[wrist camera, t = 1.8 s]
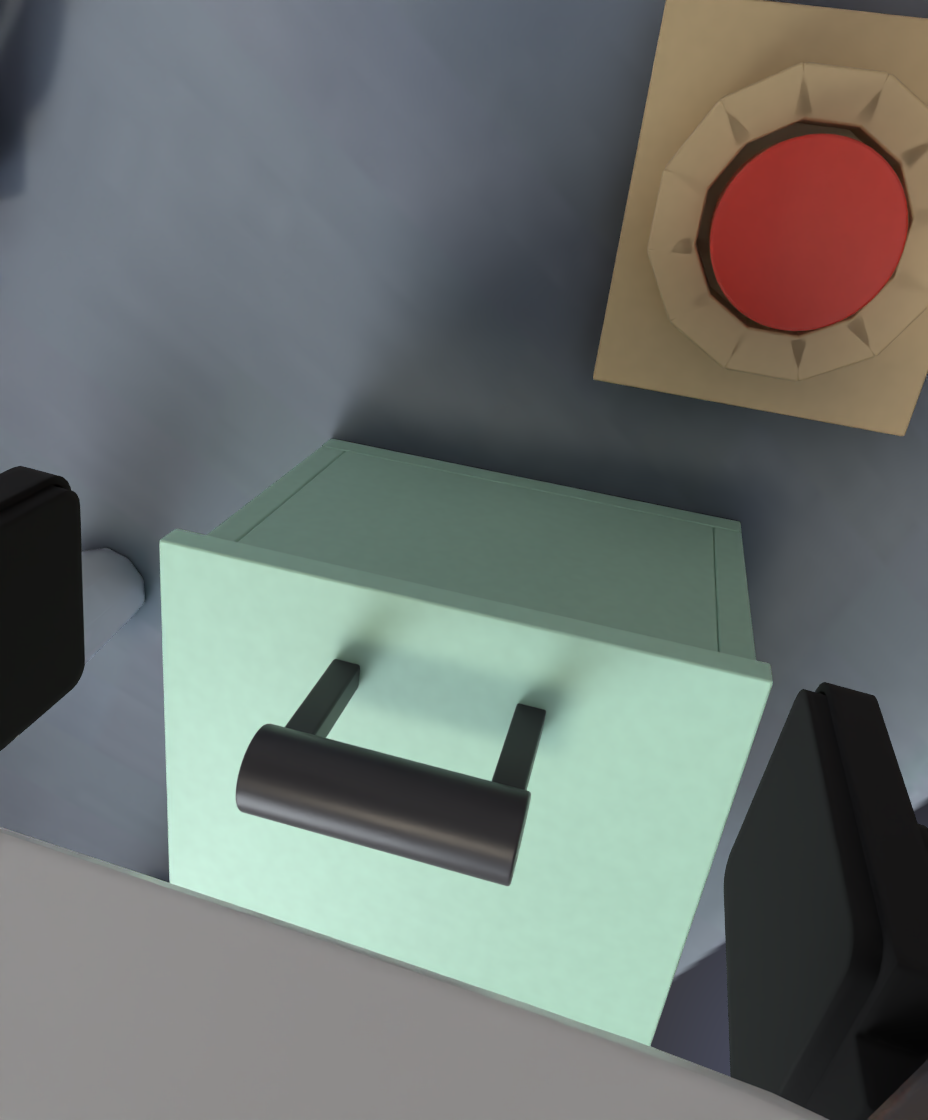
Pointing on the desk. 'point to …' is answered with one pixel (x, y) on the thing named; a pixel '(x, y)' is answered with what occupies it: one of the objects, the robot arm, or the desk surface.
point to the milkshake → (108, 596)
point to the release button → (808, 231)
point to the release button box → (709, 163)
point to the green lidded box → (510, 542)
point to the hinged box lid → (447, 774)
